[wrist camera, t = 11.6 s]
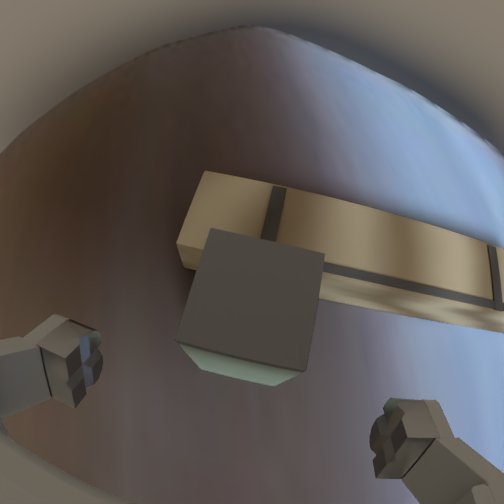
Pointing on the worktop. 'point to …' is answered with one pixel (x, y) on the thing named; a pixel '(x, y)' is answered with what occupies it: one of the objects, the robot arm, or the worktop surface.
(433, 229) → the maple plank
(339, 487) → the worktop surface
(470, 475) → the robot arm
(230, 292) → the post
